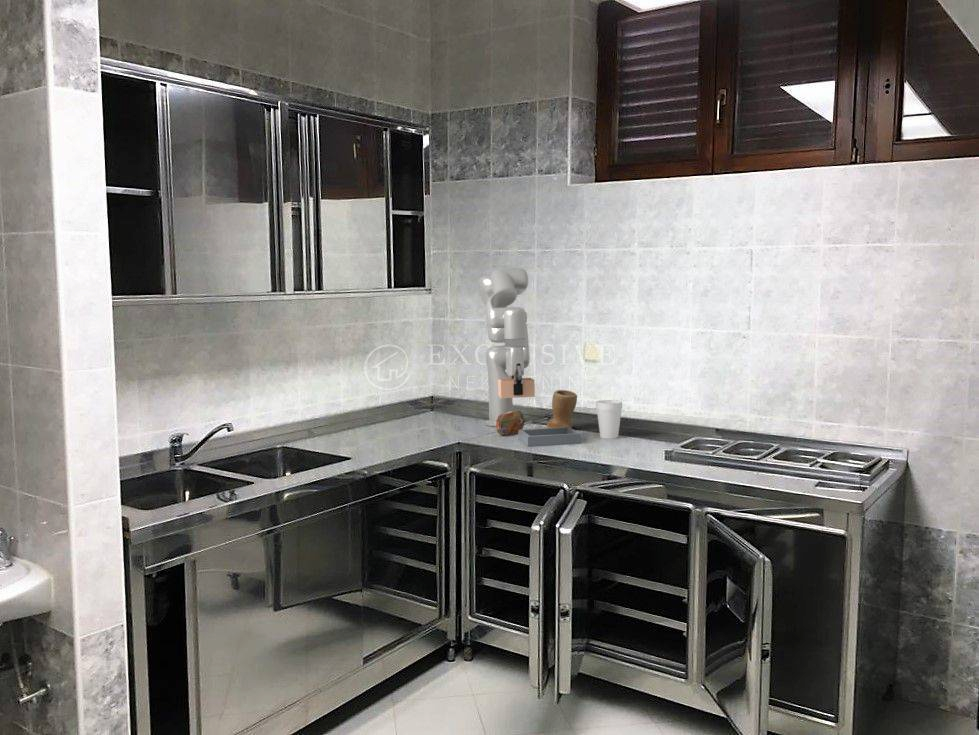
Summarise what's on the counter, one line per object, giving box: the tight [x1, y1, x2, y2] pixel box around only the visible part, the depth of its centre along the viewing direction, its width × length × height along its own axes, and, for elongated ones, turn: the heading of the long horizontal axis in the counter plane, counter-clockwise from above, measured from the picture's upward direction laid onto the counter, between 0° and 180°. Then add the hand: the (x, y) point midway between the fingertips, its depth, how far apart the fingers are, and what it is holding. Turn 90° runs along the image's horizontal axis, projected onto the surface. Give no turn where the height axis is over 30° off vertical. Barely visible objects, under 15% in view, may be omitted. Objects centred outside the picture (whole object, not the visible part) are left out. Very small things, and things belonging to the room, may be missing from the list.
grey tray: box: [517, 427, 582, 448], centre depth 310 cm, size 14×19×4 cm
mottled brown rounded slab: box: [495, 410, 525, 437], centre depth 327 cm, size 15×3×8 cm, turn 143°
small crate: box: [498, 377, 536, 399], centre depth 308 cm, size 6×12×6 cm, turn 99°
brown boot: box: [546, 389, 578, 428], centre depth 335 cm, size 15×12×15 cm
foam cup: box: [595, 399, 623, 440], centre depth 315 cm, size 10×9×13 cm
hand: (516, 393), depth 308 cm, fingers closed on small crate, 6 cm apart
